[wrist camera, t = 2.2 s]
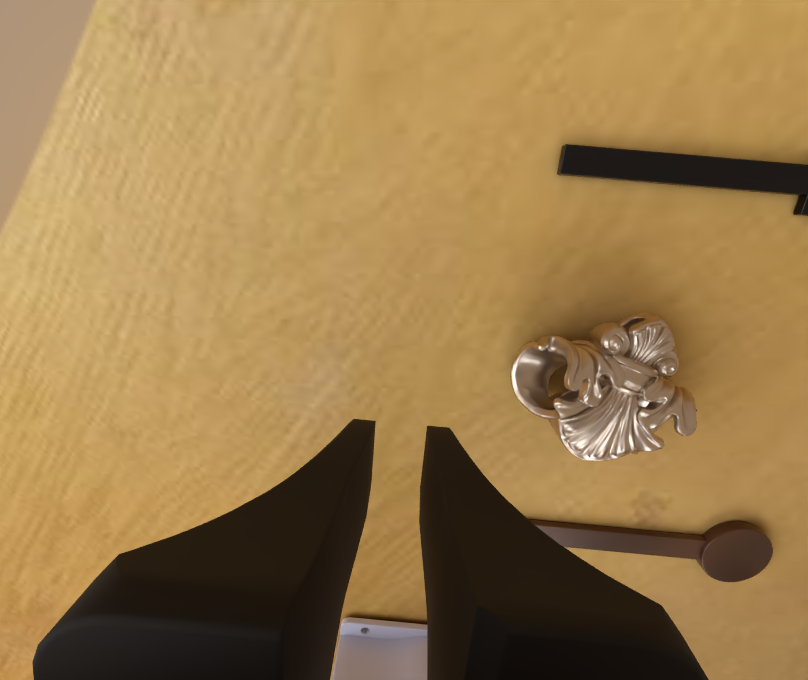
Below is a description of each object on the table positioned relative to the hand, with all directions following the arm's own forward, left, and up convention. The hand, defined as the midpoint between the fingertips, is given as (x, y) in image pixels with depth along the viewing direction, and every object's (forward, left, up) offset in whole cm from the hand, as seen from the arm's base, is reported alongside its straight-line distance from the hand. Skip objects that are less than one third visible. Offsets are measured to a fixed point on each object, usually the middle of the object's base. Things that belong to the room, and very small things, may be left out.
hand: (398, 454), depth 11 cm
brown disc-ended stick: (+13, -10, -8) cm, 18 cm away
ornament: (+9, 0, -9) cm, 12 cm away
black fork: (+13, +9, -8) cm, 18 cm away
